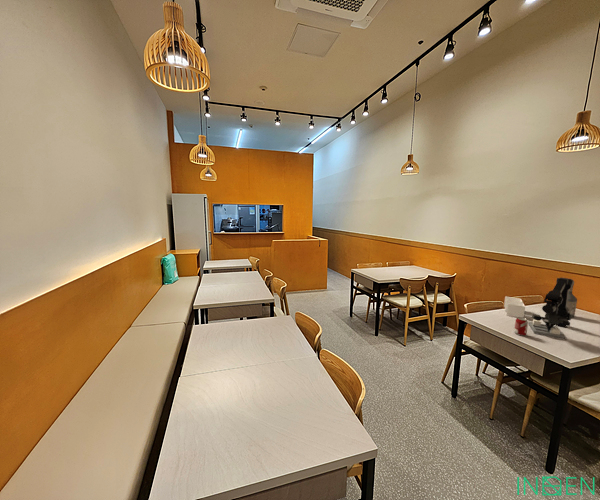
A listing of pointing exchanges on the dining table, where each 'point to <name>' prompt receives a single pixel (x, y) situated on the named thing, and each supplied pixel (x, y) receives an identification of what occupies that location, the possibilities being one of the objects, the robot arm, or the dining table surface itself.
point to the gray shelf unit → (545, 331)
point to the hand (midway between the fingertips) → (548, 330)
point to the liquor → (571, 303)
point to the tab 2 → (555, 331)
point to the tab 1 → (536, 322)
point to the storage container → (514, 307)
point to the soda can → (521, 326)
